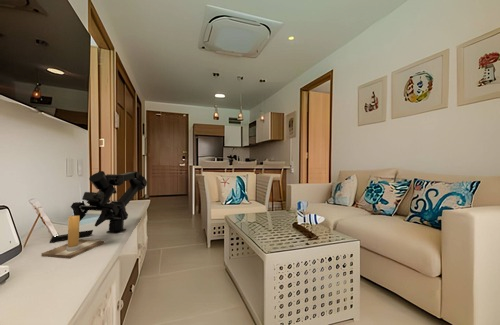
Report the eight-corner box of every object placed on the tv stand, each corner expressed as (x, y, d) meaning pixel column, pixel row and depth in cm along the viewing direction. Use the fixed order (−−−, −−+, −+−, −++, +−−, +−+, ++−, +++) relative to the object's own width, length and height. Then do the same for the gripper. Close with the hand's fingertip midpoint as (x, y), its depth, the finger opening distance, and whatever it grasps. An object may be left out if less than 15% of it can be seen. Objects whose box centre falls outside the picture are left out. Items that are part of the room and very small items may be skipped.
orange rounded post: (69, 248, 86) (70, 215, 86) (81, 247, 87) (82, 215, 87) (64, 252, 82) (65, 217, 82) (76, 250, 83) (78, 217, 84)
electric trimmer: (93, 237, 104) (93, 230, 104) (49, 244, 93) (49, 236, 93) (92, 235, 106) (92, 228, 107) (49, 241, 96) (50, 234, 96)
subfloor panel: (80, 241, 96) (80, 238, 96) (104, 243, 95) (104, 240, 95) (41, 256, 81) (41, 253, 81) (69, 258, 79) (69, 255, 79)
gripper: (74, 184, 96) (50, 214, 85) (115, 185, 96) (97, 216, 84) (87, 198, 104) (67, 228, 93) (125, 200, 103) (109, 230, 92)
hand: (84, 225), depth 90 cm, fingers open, 9 cm apart
